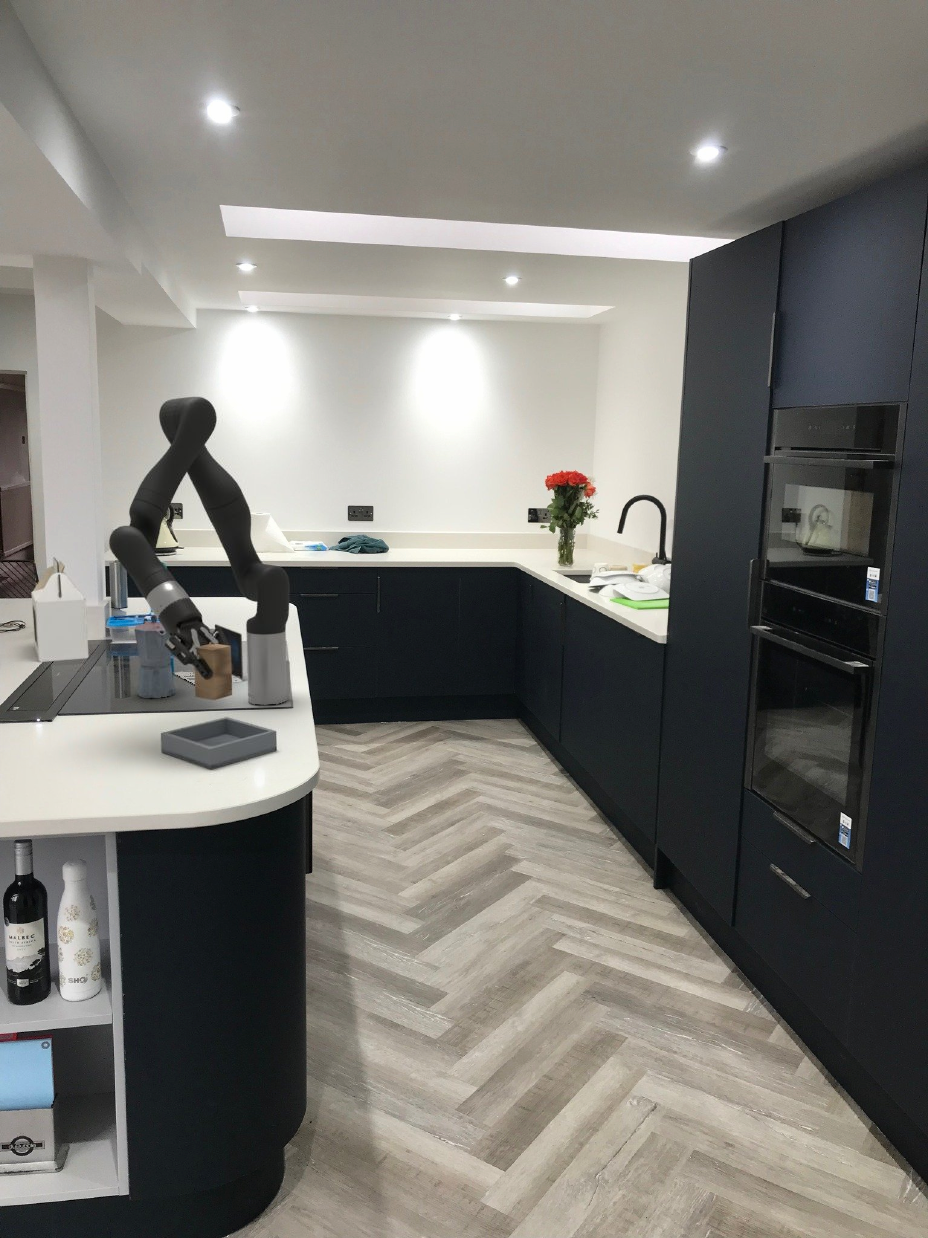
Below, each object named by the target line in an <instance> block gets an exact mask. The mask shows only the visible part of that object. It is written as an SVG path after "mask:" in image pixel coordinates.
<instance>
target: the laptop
mask: <svg viewBox="0 0 928 1238" xmlns="http://www.w3.org/2000/svg"><path fill="white" fill-rule="evenodd" d="M217 626H219V627H221V629H222V631H223V633H224V635H225V637H226V639H227V641H228V644H229V646H231V663H232V664H233V667H234V669H233V670H232V675H233V676H236V677H233V678H239V679H242V680H244V667H243V663H244V662H243V637H242V636H243V634H242V633H241V632H237V631H235V630H232V629H230V628H228V627H225V626H223V625H219V624H218V623H217V624H216V623H215V624H214V629H215V628H216V627H217ZM173 673H175V674H174V675H175V676H177V675H178V676H177V677H179V676H180V677H179V678H181V679H183V680H184V679H186V680H187V681H186V680H185V681H186V682H188V681H189V682H188V683H190V682H192V683H193V684H192V683H191V684H192V685H194V684H195V683H194V682H195V680H189V679H187V678H195V677H184V676H190V675H191V676H192V675H194V676H195V672H194V674H193V672H183V671H177V672H173ZM190 673H191V674H190ZM235 681H237V680H235Z"/></svg>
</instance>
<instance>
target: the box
mask: <svg viewBox="0 0 928 1238" xmlns="http://www.w3.org/2000/svg"><path fill="white" fill-rule="evenodd" d="M277 739H278V738H277V730H274V729H271V728H268V727H263V726H260V725H257V724H253V723H249V722H247V721H246V722H245V721H243V720H239V719H237V718H232V717H230V716H226V717H225V716H224V717H221V718H216V719H213V720H209V721H205V722H200V723H197V724H192V725H189V726H185V727H180V728H176V729H175V728H174V729H172V730H168V731H163V732H160V747H161V749H160V750H161V753H163V754H164V755H168V756H171V757H174V758H176V759H179V760H182V761H185V762H188V763H191V764H193V763H194V765H197V766H200V767H202V768H205V769H208V770H213V768H214V769H216V768H217V767H218V768H220V766H221V767H223V766H227V765H231V764H234V762H235V763H237V762H241V761H240V760H242V761H245V760H248V759H252V758H255V757H257V756H262V755H265V754H268V753H273V752H275V751H278V748H277V747H278V746H277V745H278V744H277V743H278V742H277ZM230 763H231V764H230Z"/></svg>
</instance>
